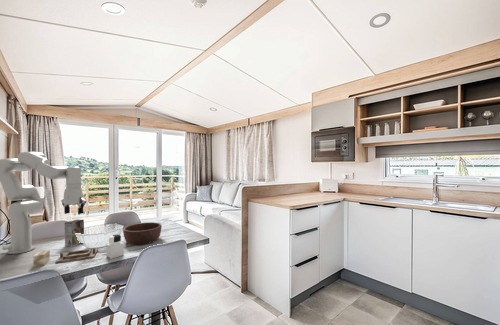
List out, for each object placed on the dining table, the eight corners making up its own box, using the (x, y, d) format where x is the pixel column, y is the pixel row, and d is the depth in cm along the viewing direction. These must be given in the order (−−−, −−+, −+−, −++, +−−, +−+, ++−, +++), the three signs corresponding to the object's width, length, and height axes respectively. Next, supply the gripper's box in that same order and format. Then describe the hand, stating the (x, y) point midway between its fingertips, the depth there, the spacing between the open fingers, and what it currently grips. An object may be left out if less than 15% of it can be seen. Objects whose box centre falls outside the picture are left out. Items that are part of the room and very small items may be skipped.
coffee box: (76, 241, 167) (76, 219, 167) (84, 242, 165) (84, 219, 166) (64, 246, 158) (64, 222, 158) (72, 246, 156) (72, 222, 156)
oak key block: (33, 267, 125) (33, 256, 125) (39, 261, 133) (39, 251, 133) (44, 265, 127) (44, 254, 127) (49, 260, 134) (49, 249, 135)
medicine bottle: (119, 252, 145) (118, 233, 145) (123, 255, 141) (123, 235, 141) (106, 255, 140) (106, 235, 140) (111, 258, 135) (110, 238, 135)
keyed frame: (55, 263, 130) (55, 257, 130) (62, 255, 141) (62, 249, 141) (93, 257, 137) (93, 251, 137) (97, 250, 149) (97, 244, 149)
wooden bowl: (169, 237, 173) (169, 224, 173) (140, 249, 151) (140, 233, 151) (144, 234, 184) (144, 220, 184) (114, 244, 161) (114, 229, 161)
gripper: (56, 187, 145) (56, 214, 145) (80, 186, 143) (80, 215, 143) (67, 185, 153) (67, 212, 153) (90, 185, 150) (90, 212, 150)
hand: (73, 213), depth 148 cm, fingers open, 9 cm apart
